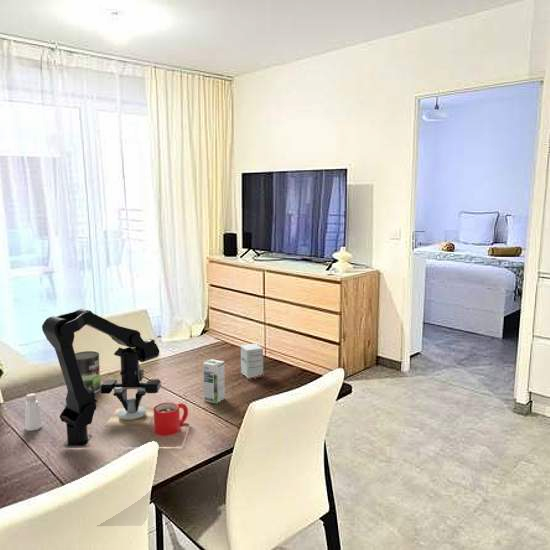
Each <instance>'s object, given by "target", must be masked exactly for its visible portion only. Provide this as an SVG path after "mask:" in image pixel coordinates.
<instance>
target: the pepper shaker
mask: <svg viewBox="0 0 550 550" xmlns="http://www.w3.org/2000/svg"><path fill="white" fill-rule="evenodd" d="M25 398H26V402H25V410H24V411H25V416H24V430H25V431H29V432H31V431H36V430H39V429H41V428H42V427H43V422H42V421H43V420H42V416H41V415H42V414H41V411H40V406H39V400H37V394H36V393H35V392H32V393H27V394H26V397H25Z"/></svg>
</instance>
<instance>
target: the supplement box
mask: <svg viewBox="0 0 550 550" xmlns="http://www.w3.org/2000/svg"><path fill="white" fill-rule="evenodd" d="M241 373H242V374H243V375H245V376H246V377H247V378H250V377H254V376H258V375H261V374H263V375H264V348H263V347H262V346H261V345H259V344H257V343H249V344H248V343H247V344H243V345H240V374H241ZM242 374H241V375H242ZM243 375H242V376H243Z"/></svg>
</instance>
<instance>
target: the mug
mask: <svg viewBox="0 0 550 550" xmlns="http://www.w3.org/2000/svg"><path fill="white" fill-rule="evenodd" d="M180 409H182V410H183V413H182V414H183V415H182V416H181V418H180ZM188 415H189V409H188V405H186V404H185V403H181V402H180V403H175V402H162V403H159V404H156V405H155V406H154V416H153V427H154V434H156V435H159V436H163V437H164V436H171V435H175V434H177V433H178V432H179V431H180V429H181V425H183V423H185V422H186V420H187V418H188Z"/></svg>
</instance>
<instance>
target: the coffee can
mask: <svg viewBox="0 0 550 550" xmlns="http://www.w3.org/2000/svg"><path fill="white" fill-rule="evenodd" d="M75 356H76V359H77V362H78V366H79V369H80V373H81V376H82V379H83V383H84V386H85V388H88V389H90V390H93V391H94V393H95V394H96V393H99V392H100V386H101V385H102V384H101V371H100V370H101V369H100V353H99V352H98V351H91V350H90V351H89V350H88V351H79V352H75Z"/></svg>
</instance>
